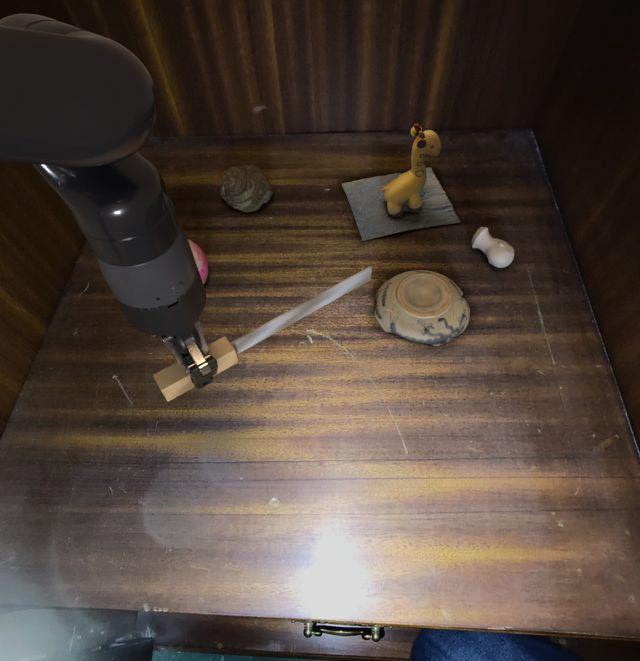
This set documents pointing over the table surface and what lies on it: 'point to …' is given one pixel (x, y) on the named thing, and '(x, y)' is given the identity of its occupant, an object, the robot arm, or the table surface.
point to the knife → (254, 337)
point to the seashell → (245, 188)
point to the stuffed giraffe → (402, 195)
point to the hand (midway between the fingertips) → (198, 373)
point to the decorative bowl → (422, 307)
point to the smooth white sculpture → (493, 248)
